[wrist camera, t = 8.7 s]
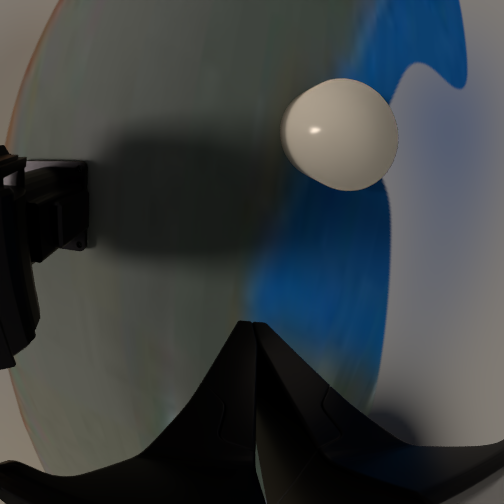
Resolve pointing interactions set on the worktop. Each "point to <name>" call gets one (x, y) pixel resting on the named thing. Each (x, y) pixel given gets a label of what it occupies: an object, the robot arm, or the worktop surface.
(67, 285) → the worktop surface
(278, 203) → the worktop surface
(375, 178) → the beige rounded piece
